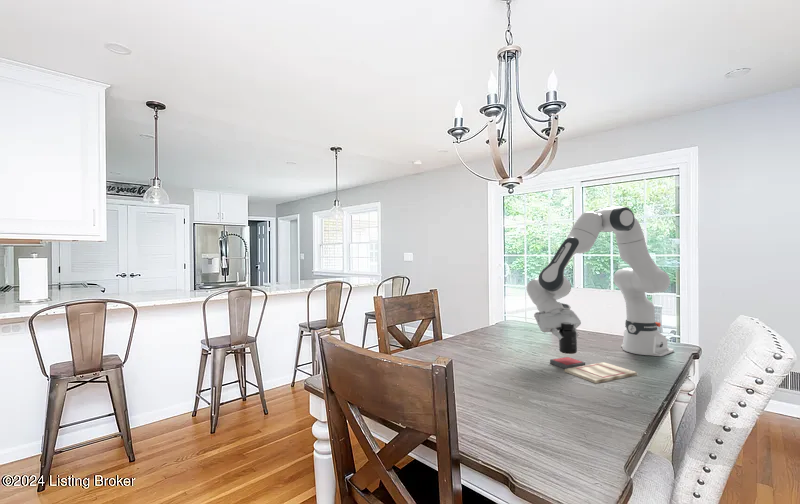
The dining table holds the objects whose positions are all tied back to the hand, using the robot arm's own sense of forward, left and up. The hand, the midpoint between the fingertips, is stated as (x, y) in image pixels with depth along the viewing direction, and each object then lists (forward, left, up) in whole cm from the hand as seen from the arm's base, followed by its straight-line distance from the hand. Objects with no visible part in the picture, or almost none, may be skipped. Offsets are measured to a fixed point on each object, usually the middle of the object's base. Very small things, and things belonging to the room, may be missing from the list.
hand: (569, 337), depth 154 cm
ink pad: (0, -1, -11) cm, 11 cm away
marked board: (-3, +12, -11) cm, 17 cm away
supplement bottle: (0, -1, -6) cm, 6 cm away
